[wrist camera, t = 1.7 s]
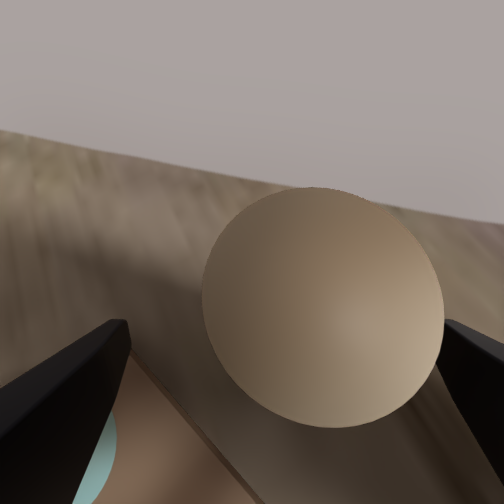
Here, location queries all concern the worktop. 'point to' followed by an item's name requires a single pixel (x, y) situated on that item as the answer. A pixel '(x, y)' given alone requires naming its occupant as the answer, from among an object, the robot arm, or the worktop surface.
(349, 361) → the pin loose
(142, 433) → the board
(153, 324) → the worktop surface
